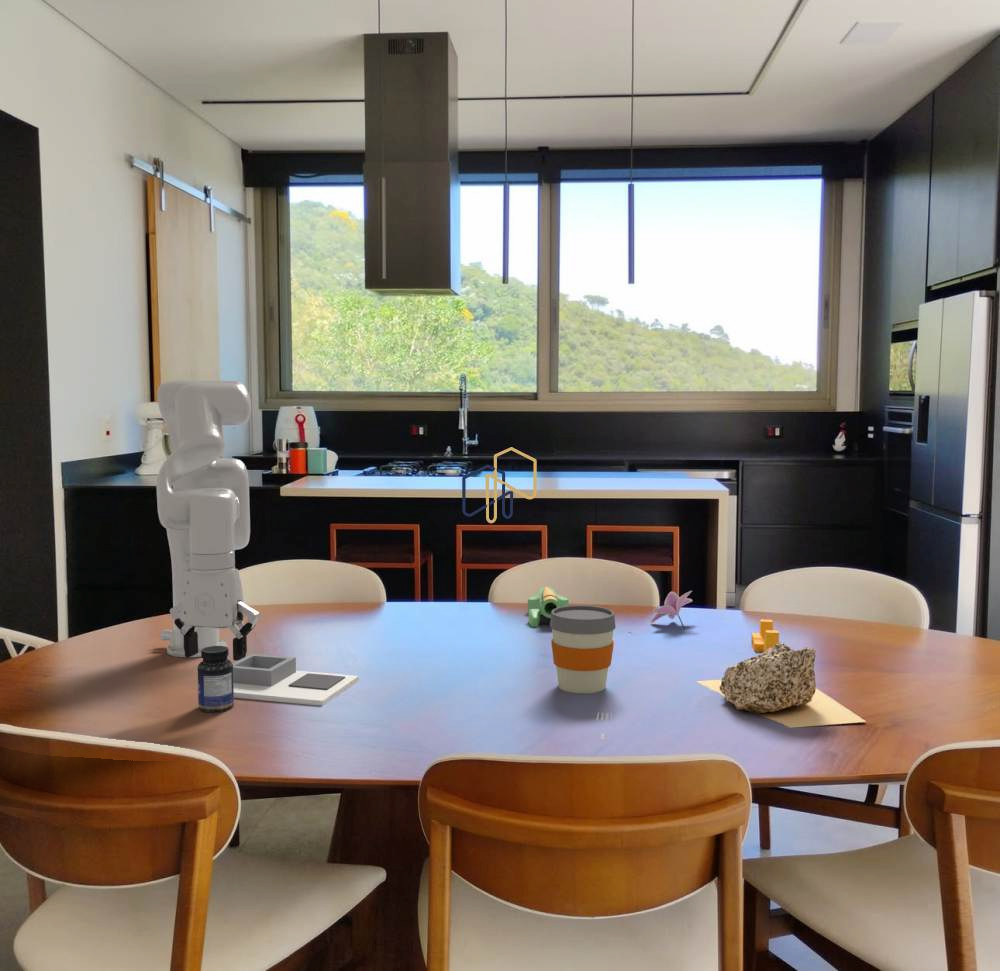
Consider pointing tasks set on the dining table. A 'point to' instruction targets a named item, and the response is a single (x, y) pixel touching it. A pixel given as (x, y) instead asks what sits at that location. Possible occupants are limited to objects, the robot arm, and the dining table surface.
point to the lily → (672, 606)
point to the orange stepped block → (764, 637)
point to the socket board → (285, 681)
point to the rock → (781, 689)
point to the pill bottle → (215, 680)
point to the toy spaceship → (544, 605)
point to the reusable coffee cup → (582, 647)
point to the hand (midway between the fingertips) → (215, 657)
